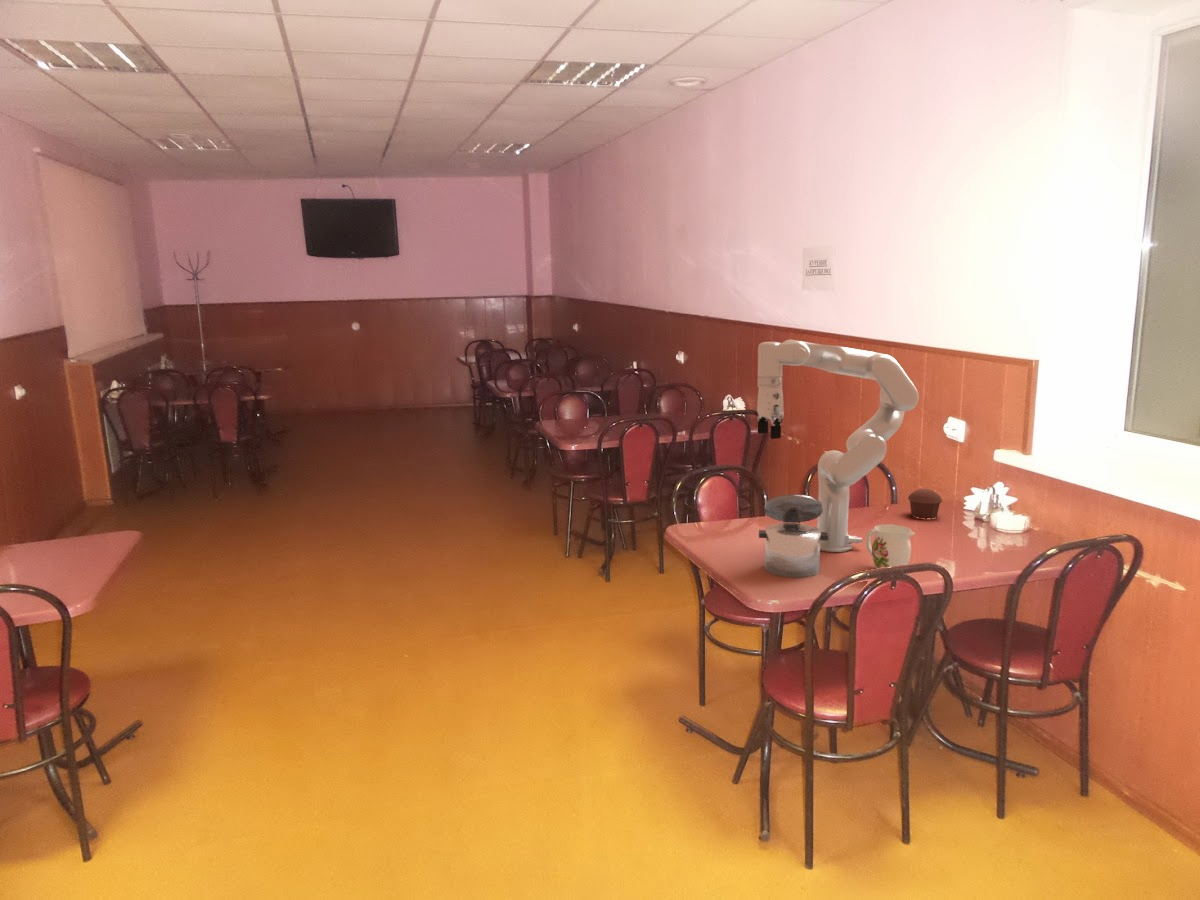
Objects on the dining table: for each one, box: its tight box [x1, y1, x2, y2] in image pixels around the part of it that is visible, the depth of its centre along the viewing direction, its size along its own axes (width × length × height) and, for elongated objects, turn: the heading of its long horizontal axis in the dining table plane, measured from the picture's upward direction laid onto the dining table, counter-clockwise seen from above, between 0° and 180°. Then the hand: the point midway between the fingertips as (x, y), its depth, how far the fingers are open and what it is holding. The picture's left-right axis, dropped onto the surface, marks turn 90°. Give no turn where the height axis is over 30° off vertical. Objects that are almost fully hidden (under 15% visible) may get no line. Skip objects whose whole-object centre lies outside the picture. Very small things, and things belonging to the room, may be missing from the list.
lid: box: [764, 494, 823, 524], centre depth 258 cm, size 18×17×3 cm
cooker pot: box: [758, 522, 828, 579], centre depth 258 cm, size 20×17×12 cm
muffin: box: [907, 488, 943, 519], centre depth 314 cm, size 12×11×10 cm
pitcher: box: [865, 523, 916, 569], centre depth 255 cm, size 11×18×14 cm, turn 27°
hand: (768, 435), depth 272 cm, fingers open, 9 cm apart
